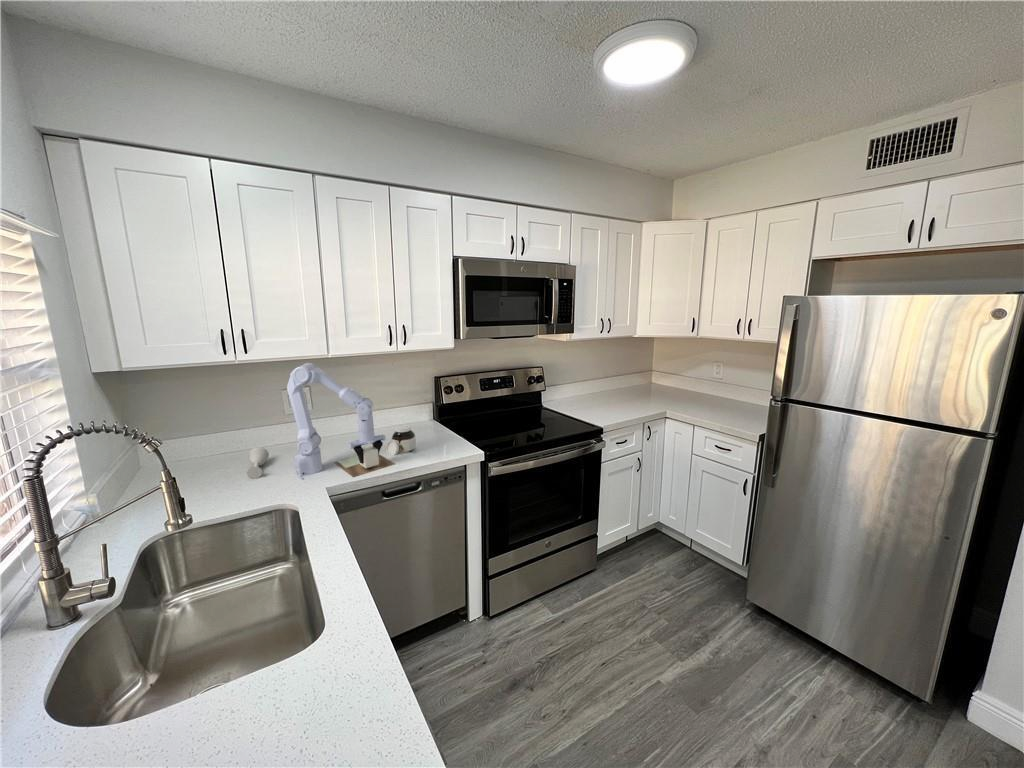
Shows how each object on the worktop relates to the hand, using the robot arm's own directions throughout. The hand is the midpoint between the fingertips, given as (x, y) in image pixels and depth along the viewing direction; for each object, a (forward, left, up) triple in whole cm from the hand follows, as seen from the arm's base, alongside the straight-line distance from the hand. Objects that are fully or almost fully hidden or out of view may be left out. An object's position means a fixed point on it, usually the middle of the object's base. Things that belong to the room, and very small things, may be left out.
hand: (369, 460), depth 169 cm
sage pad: (-3, +10, -3) cm, 11 cm away
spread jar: (+18, +7, -4) cm, 20 cm away
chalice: (-36, +23, -1) cm, 43 cm away
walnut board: (0, +5, -4) cm, 6 cm away
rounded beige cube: (0, 0, -2) cm, 2 cm away
